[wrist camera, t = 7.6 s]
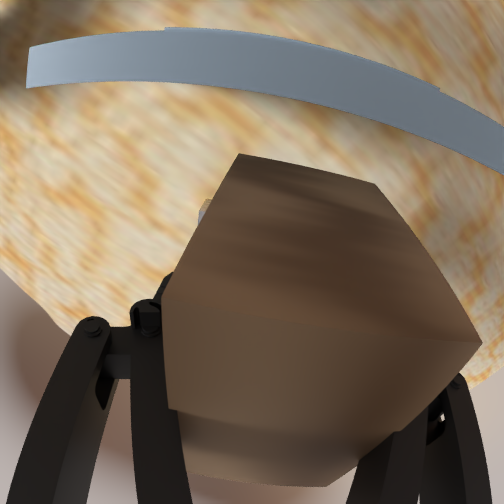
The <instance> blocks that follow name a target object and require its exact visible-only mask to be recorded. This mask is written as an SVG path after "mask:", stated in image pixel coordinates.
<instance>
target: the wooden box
mask: <svg viewBox="0 0 504 504" xmlns="http://www.w3.org/2000/svg"><path fill="white" fill-rule="evenodd" d="M161 306H162V331H163V349H164V363H165V376H166V388H167V398H168V407H169V409H173V410H177V414H178V421H179V428H180V435H181V442H182V448H183V455H184V461H185V466H186V472H188V473H193V474H197V475H202V476H208V477H213V478H219V479H225V480H232V481H239V482H248V483H257V484H267V485H280V486H303V487H326V486H328V485H330V484H331V483H333V482H334V481H336V480H337V479H339V478H340V477H342V476H343V475H345V474H346V473H347V472H349V471H350V470H352V469H353V468H355V467H356V466H357V465H358V462H359V460H360V459H361V458H363V457H364V456H365V455H366V454H368V453H369V452H370V451H371V450H373V449H374V448H375V447H376V446H378V445H379V444H380V443H381V442H382V441H384V440H385V439H386V438H387V437H388V436H389V435H391V434H392V433H393V432H394V431H401V430H402V429H403V428H405V427H406V426H407V425H408V424H409V423H410V422H411V421H412V420H413V419H414V418H415V417H417V416H418V415H419V414H420V413H421V412H422V411H423V410H424V409H425V408H426V407H427V406H428V405H429V404H430V403H431V402H432V401H433V400H434V399H435V398H436V397H437V396H438V395H439V394H440V393H441V392H442V390H443V389H444V388H445V387H446V386H447V385H448V384H449V383H450V382H451V381H452V380H453V378H454V377H455V376H456V375H457V374H458V373H459V372H460V370H461V369H462V368H463V367H464V366H465V365H466V363H467V362H468V361H469V360H470V358H471V357H472V356H473V355H474V354H475V352H476V351H477V350H478V348H479V347H480V346H481V345H482V341H481V339H480V337H479V335H478V333H477V331H476V330H475V328H474V326H473V324H472V322H471V321H470V319H469V317H468V315H467V314H466V312H465V310H464V308H463V307H462V305H461V303H460V302H459V300H458V298H457V297H456V295H455V293H454V292H453V290H452V289H451V287H450V285H449V284H448V282H447V281H446V279H445V278H444V276H443V274H442V273H441V271H440V270H439V268H438V267H437V265H436V264H435V262H434V261H433V259H432V258H431V257H430V255H429V254H428V252H427V251H426V249H425V248H424V247H423V245H422V244H421V242H420V241H419V240H418V238H417V237H416V235H415V234H414V233H413V231H412V230H411V229H410V227H409V226H408V225H407V223H406V222H405V221H404V219H403V218H402V217H401V216H400V214H399V213H398V212H397V210H396V209H395V208H394V207H393V205H392V204H391V203H390V202H389V200H388V199H387V198H386V197H385V195H384V194H383V193H382V192H381V191H380V189H379V188H378V187H377V186H376V185H375V184H373V183H370V182H366V181H362V180H359V179H355V178H351V177H347V176H343V175H339V174H335V173H331V172H327V171H323V170H319V169H314V168H310V167H305V166H301V165H296V164H292V163H287V162H282V161H277V160H272V159H267V158H262V157H256V156H251V155H245V154H238V156H237V157H236V159H235V161H234V162H233V164H232V166H231V167H230V169H229V171H228V173H227V174H226V176H225V178H224V180H223V181H222V183H221V185H220V187H219V188H218V190H217V192H216V194H215V196H214V197H213V199H212V201H211V203H210V204H209V206H208V208H207V210H206V212H205V214H204V215H203V217H202V219H201V221H200V223H199V225H198V226H197V228H196V230H195V232H194V234H193V236H192V238H191V240H190V241H189V243H188V245H187V247H186V249H185V251H184V253H183V255H182V257H181V259H180V261H179V263H178V264H177V266H176V268H175V270H174V272H173V274H172V276H171V278H170V280H169V282H168V284H167V286H166V288H165V290H164V292H163V294H162V296H161Z"/></svg>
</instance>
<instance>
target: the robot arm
mask: <svg viewBox="0 0 504 504" xmlns="http://www.w3.org/2000/svg"><path fill="white" fill-rule="evenodd" d="M172 274H173V272H171V273H170V274H169V275H167V276H166V277H164V279H163V281H162V283H161V285H160V287H159V288H158V290H157V293H156V294H155V296H154V298H153V299H145V300H141V301H138V302H136V303H135V304H134V305H133V306H132V307H131V309H130V320H131V326H127V327H110V325H109V323H108V322H107V321H106V320H105V319H103V318H101V317H97V316H91V317H87V318H85V319H83V320H81V321H80V322H79V323H78V324H77V326H76V328H75V329H74V331H73V333H72V335H71V337H70V339H69V341H68V343H67V345H66V347H65V349H64V351H63V353H62V355H61V357H60V359H59V361H58V363H57V365H56V368H55V370H54V372H53V374H52V376H51V378H50V381H49V383H48V385H47V387H46V389H45V392H44V394H43V397H42V399H41V401H40V404H39V406H38V408H37V411H36V413H35V416H34V418H33V421H32V424H31V426H30V429H29V432H28V434H27V437H26V439H25V442H24V445H23V448H22V451H21V454H20V457H19V460H18V463H17V466H16V470H15V473H14V476H13V480H12V483H11V487H10V490H9V494H8V498H7V502H6V504H86V502H87V498H88V493H89V488H90V483H91V479H92V475H93V471H94V466H95V462H96V458H97V454H98V450H99V446H100V443H101V439H102V435H103V432H104V428H105V424H106V421H107V418H108V414H109V411H110V407H111V404H112V401H113V397H114V394H115V391H116V388H117V384H118V382H119V379H130V388H131V389H130V392H131V393H130V395H131V397H130V399H131V430H132V447H133V461H134V471H135V482H136V491H137V499H138V504H193V503H192V499H191V493H190V488H189V483H188V477H187V472H186V466H185V461H184V455H183V448H182V442H181V435H180V428H179V421H178V414H177V410H173V409H169V407H168V398H167V388H166V376H165V363H164V349H163V331H162V306H161V296H162V294H163V292H164V290H165V288H166V286H167V284H168V282H169V280H170V278H171V276H172ZM443 413H444V417H445V420H444V421H442V420H441V415H442V414H443ZM418 496H420V504H492V497H491V488H490V481H489V475H488V468H487V463H486V457H485V452H484V447H483V443H482V438H481V433H480V429H479V425H478V421H477V417H476V413H475V410H474V406H473V402H472V400H471V396H470V392H469V389H468V386H467V382H466V380H465V378H464V377H463V376H462V375H461V374H460V373H458V374H457V375H456V376H455V377H454V378H453V380H452V381H451V382H450V383H449V384H448V385H447V386H446V387H445V388H444V389H443V390H442V392H441V393H440V394H439V395H438V396H437V397H436V398H435V399H434V400H433V401H432V402H431V403H430V404H429V405H428V406H427V407H426V408H425V409H424V410H423V411H422V412H421V413H420V414H419V415H418V416H417V417H415V418H414V419H413V420H412V421H411V422H410V423H409V424H408V425H407V426H406V427H405V428H403V429H402V430H401V431H394V432H393V433H392V434H391V435H389V436H388V437H387V438H386V439H385V440H384V441H382V442H381V443H380V444H379V445H378V446H376V447H375V448H374V449H373V450H371V451H370V452H369V453H368V454H366V455H365V456H364V457H363V458H361V459H360V460H359V462H358V465H357V469H356V473H355V476H354V480H353V482H352V486H351V489H350V492H349V495H348V498H347V501H346V504H417V502H418Z"/></svg>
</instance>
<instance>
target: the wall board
mask: <svg viewBox="0 0 504 504" xmlns="http://www.w3.org/2000/svg"><path fill="white" fill-rule="evenodd" d="M105 81H148V82H171V83H186V84H198V85H208V86H217V87H225V88H233V89H240V90H247V91H253V92H259V93H265V94H271V95H276V96H281V97H286V98H291V99H296V100H301V101H305V102H310V103H314V104H318V105H322V106H326V107H330V108H334V109H338V110H341V111H345V112H348V113H352V114H355V115H359V116H362V117H365V118H369V119H372V120H375V121H378V122H381V123H384V124H387V125H390V126H393V127H396V128H399V129H401V130H404V131H407V132H410V133H412V134H415V135H418V136H420V137H423V138H425V139H428V140H430V141H433V142H435V143H438V144H440V145H442V146H445V147H447V148H449V149H452V150H454V151H456V152H458V153H460V154H463V155H465V156H467V157H469V158H471V159H473V160H475V161H477V162H479V163H481V164H483V165H485V166H487V167H489V168H491V169H493V170H495V171H497V172H499V173H500V174H502V175H504V127H503V126H502V125H500V124H498V123H497V122H495V121H493V120H492V119H490V118H489V117H487V116H485V115H483V114H482V113H480V112H478V111H476V110H475V109H473V108H471V107H469V106H467V105H466V104H464V103H462V102H460V101H458V100H456V99H454V98H452V97H450V96H448V95H446V94H444V93H442V92H440V91H439V90H440V88H438V87H436V86H434V85H432V84H430V83H428V82H425V81H423V80H421V79H418V78H416V77H414V76H411V75H409V74H406V73H404V72H401V71H399V70H396V69H394V68H391V67H388V66H386V65H383V64H380V63H377V62H374V61H371V60H368V59H365V58H362V57H359V56H356V55H352V54H349V53H346V52H342V51H339V50H335V49H331V48H327V47H323V46H319V45H315V44H311V43H307V42H302V41H297V40H292V39H287V38H282V37H276V36H270V35H264V34H257V33H249V32H241V31H232V30H221V29H207V28H180V27H165V30H164V31H135V32H120V33H109V34H100V35H92V36H84V37H78V38H72V39H66V40H60V41H55V42H50V43H46V44H41V45H37V46H33V47H30V48H29V57H28V67H27V79H26V88H32V87H40V86H48V85H57V84H68V83H83V82H105Z"/></svg>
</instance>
